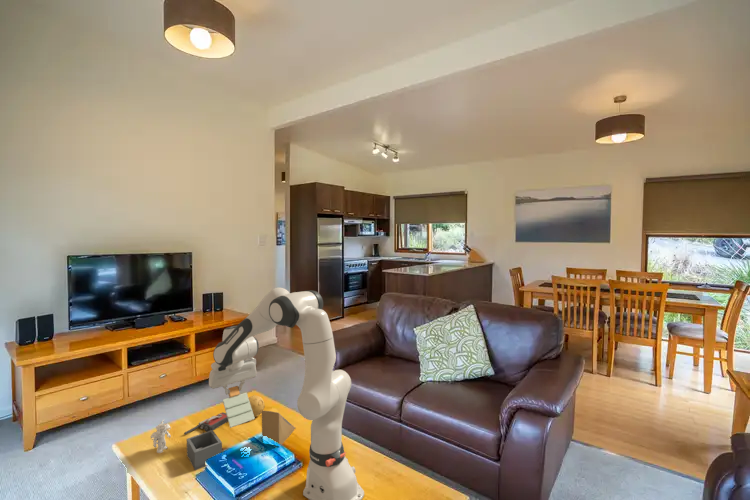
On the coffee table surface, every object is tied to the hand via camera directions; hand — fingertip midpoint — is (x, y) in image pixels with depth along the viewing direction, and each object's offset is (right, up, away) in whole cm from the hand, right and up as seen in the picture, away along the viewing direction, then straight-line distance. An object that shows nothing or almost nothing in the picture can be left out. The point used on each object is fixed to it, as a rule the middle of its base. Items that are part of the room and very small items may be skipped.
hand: (233, 392), depth 157 cm
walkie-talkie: (-15, -20, +7) cm, 26 cm away
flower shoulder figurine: (-26, -20, -10) cm, 35 cm away
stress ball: (+3, -19, +17) cm, 26 cm away
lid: (+2, -6, -2) cm, 6 cm away
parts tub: (-6, -20, -15) cm, 26 cm away
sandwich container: (+21, -20, 0) cm, 29 cm away
